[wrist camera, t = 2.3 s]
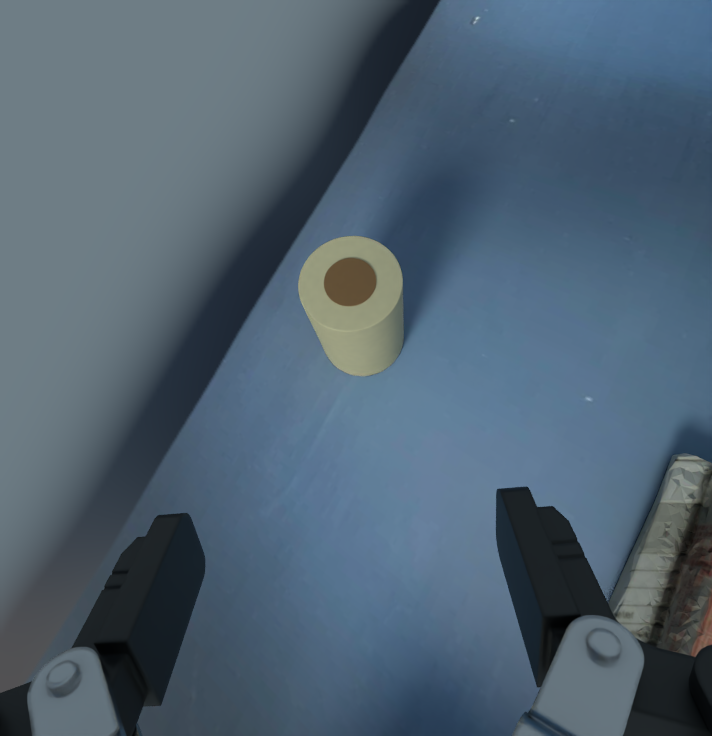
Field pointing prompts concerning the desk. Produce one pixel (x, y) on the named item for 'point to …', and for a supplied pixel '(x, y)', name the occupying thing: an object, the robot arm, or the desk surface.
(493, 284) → the desk surface
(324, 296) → the toilet paper roll
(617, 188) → the desk surface
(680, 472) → the packaged product
